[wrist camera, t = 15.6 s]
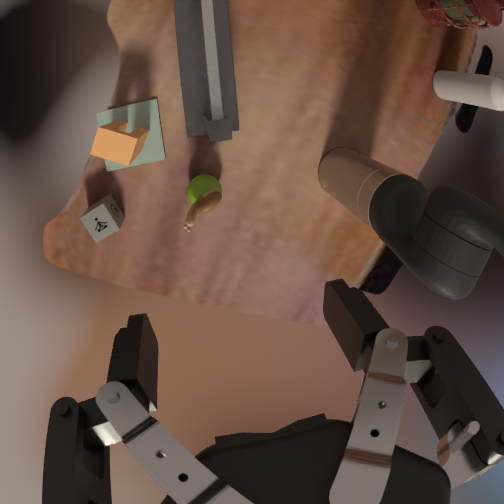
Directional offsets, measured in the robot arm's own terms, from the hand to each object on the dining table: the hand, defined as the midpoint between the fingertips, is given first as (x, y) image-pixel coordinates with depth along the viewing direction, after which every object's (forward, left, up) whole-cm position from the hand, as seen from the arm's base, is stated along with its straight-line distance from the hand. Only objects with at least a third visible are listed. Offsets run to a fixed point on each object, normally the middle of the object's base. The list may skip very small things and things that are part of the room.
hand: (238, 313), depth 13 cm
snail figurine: (+1, +6, -38) cm, 39 cm away
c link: (+11, -5, -38) cm, 40 cm away
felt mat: (+11, -5, -38) cm, 40 cm away
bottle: (-50, -13, -38) cm, 64 cm away
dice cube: (+18, +7, -38) cm, 43 cm away
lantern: (-49, -32, -38) cm, 70 cm away
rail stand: (-2, -16, -38) cm, 41 cm away
